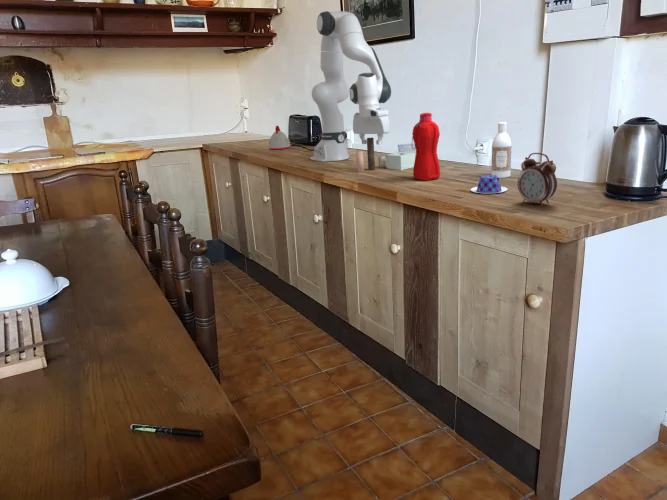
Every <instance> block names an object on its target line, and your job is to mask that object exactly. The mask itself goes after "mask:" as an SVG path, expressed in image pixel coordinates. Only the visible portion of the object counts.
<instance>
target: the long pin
mask: <svg viewBox="0 0 667 500" xmlns="http://www.w3.org/2000/svg"><path fill="white" fill-rule="evenodd" d="M366 140H367V144H366V150H367V153H366V154H367V170H368V171H375V169H376V165H375V144H374V143H375V142H374V141H375V139H374V137H367V138H366Z"/></svg>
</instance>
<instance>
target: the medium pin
mask: <svg viewBox="0 0 667 500" xmlns="http://www.w3.org/2000/svg"><path fill="white" fill-rule="evenodd" d="M364 161H365V159H364V151H363V150H356V170H357V173H364V172H365V162H364Z"/></svg>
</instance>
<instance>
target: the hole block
mask: <svg viewBox="0 0 667 500" xmlns="http://www.w3.org/2000/svg"><path fill="white" fill-rule="evenodd" d="M385 155H386V156H385V165H386V169H388V170H389V169H390V170H397V171H403V170H407V169H410V168H414V162H415V153H405V152H399V151H398V152H395V153H388V154H385Z"/></svg>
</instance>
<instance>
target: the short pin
mask: <svg viewBox="0 0 667 500" xmlns="http://www.w3.org/2000/svg"><path fill="white" fill-rule="evenodd" d="M377 161H378V169H384V168H385V169H386V156H385V155H379V156H378V159H377Z"/></svg>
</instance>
